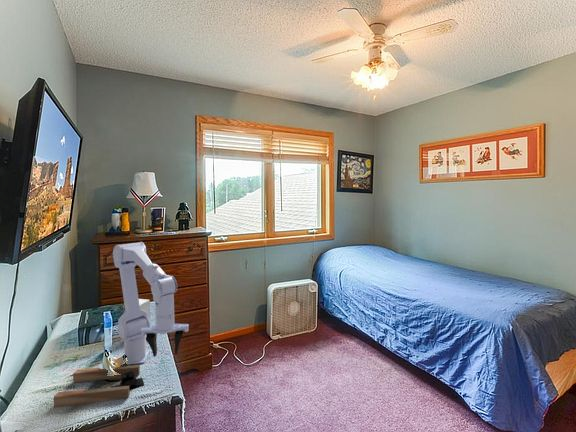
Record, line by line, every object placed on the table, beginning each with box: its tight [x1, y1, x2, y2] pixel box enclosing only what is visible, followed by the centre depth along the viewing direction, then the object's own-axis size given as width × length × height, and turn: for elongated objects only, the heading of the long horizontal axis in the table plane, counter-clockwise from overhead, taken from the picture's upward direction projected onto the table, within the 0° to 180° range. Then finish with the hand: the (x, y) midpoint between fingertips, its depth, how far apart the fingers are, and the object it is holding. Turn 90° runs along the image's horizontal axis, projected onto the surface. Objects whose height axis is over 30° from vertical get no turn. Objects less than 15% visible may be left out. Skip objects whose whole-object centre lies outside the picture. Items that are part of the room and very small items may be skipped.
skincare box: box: [130, 298, 151, 321], centre depth 137 cm, size 8×6×15 cm
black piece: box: [109, 371, 145, 391], centre depth 100 cm, size 12×7×5 cm, turn 124°
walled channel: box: [53, 364, 141, 408], centre depth 98 cm, size 14×20×3 cm
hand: (165, 353), depth 102 cm, fingers open, 6 cm apart
